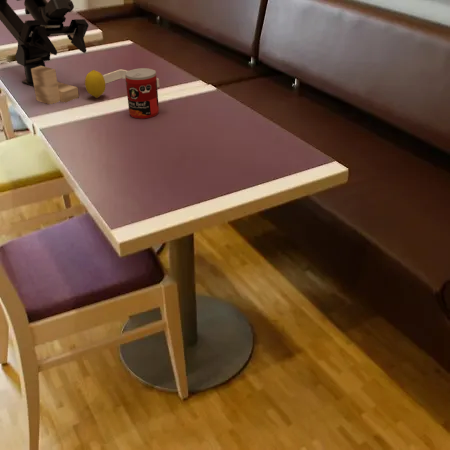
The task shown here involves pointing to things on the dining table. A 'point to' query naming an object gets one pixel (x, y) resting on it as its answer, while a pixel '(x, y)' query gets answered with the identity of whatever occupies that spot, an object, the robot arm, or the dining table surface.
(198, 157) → the dining table surface
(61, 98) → the stepped wooden corner piece
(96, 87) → the lemon
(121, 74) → the corral
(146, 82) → the canned food
